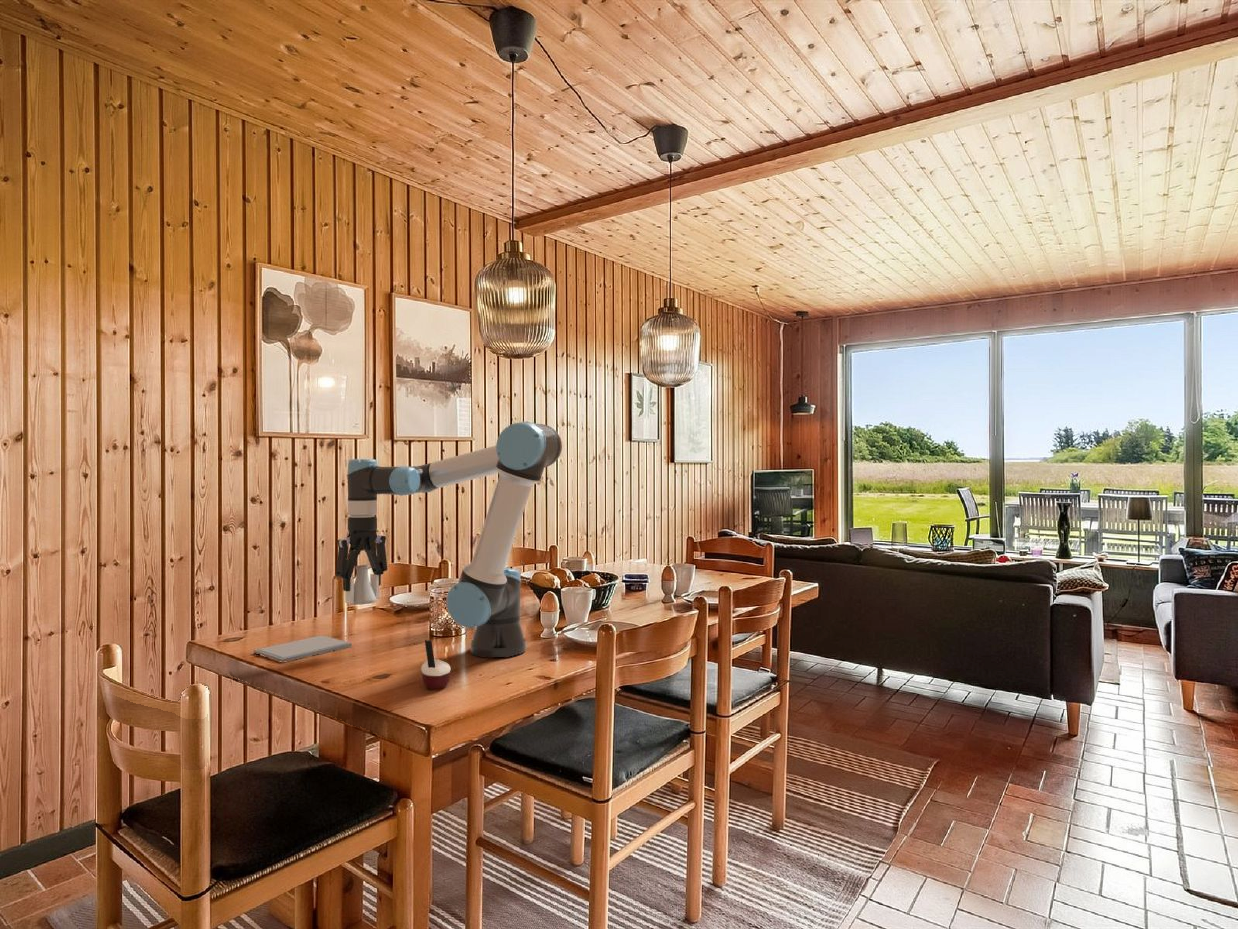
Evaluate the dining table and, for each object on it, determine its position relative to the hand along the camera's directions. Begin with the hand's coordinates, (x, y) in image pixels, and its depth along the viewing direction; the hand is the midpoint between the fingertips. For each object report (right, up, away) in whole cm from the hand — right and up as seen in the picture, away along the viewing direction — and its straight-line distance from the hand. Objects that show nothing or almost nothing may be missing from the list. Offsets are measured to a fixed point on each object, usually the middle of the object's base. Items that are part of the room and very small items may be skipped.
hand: (362, 600), depth 190 cm
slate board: (-17, -14, +2) cm, 22 cm away
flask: (0, -1, 0) cm, 1 cm away
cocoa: (+27, -15, -27) cm, 41 cm away
